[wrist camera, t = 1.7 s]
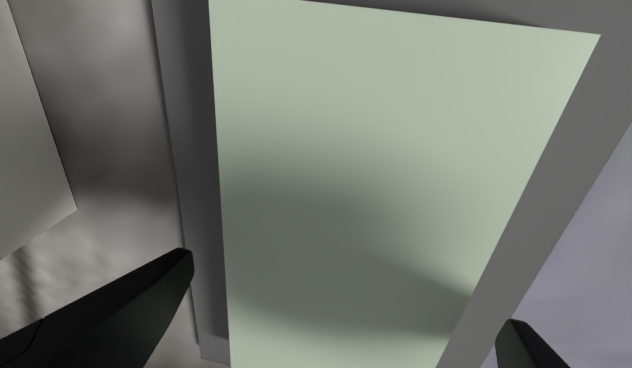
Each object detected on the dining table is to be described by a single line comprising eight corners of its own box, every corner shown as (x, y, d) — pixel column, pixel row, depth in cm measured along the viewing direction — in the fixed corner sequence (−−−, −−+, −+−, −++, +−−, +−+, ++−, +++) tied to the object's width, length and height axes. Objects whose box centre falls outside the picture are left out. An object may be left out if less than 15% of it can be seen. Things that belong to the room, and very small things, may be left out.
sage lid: (399, 383, 14) (401, 436, 12) (250, 346, 15) (232, 391, 13) (547, 27, 7) (600, 34, 5) (247, -7, 8) (207, -11, 6)
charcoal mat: (444, 407, 15) (446, 421, 15) (206, 347, 16) (201, 358, 16) (724, -73, 6) (756, -81, 6) (151, -116, 7) (133, -125, 7)
